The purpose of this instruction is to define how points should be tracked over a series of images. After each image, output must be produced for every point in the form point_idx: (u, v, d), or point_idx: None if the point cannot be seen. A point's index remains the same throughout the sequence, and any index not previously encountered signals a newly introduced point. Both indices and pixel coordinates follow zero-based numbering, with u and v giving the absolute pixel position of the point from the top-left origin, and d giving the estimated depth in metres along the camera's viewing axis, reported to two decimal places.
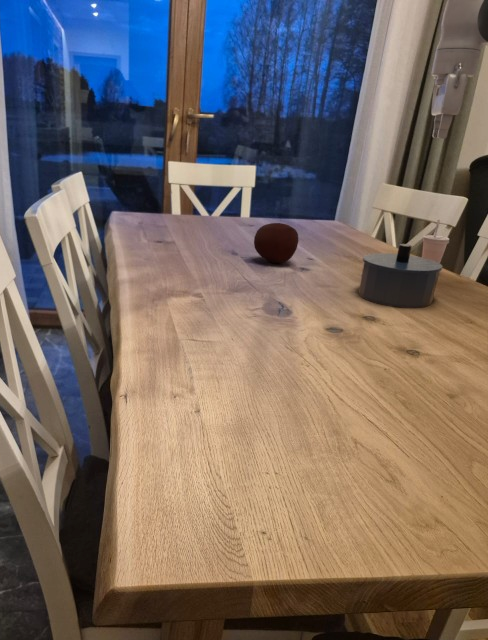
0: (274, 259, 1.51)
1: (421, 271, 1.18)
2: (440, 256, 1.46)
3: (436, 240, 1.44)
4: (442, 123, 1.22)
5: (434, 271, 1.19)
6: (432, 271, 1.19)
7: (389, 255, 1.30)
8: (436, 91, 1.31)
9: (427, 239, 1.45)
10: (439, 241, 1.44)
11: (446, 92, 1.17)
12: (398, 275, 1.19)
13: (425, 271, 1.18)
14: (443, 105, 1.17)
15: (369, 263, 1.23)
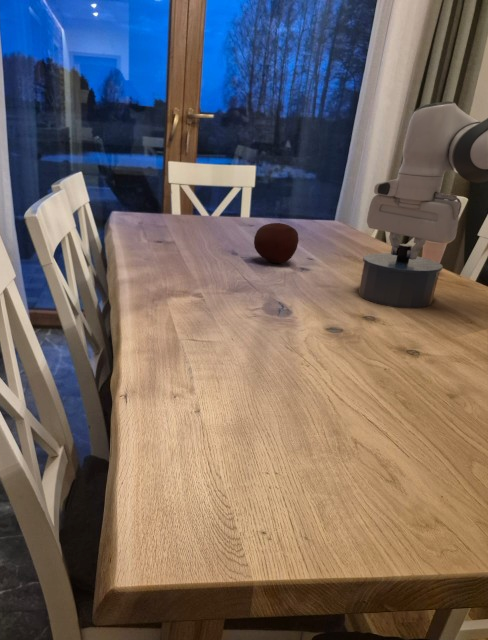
0: (274, 259, 1.51)
1: (421, 271, 1.18)
2: (440, 256, 1.46)
3: None
4: (418, 246, 1.21)
5: (434, 271, 1.19)
6: (432, 271, 1.19)
7: (389, 255, 1.30)
8: (378, 206, 1.25)
9: None
10: None
11: (448, 224, 1.13)
12: (398, 275, 1.19)
13: (425, 271, 1.18)
14: (446, 236, 1.14)
15: (369, 263, 1.23)
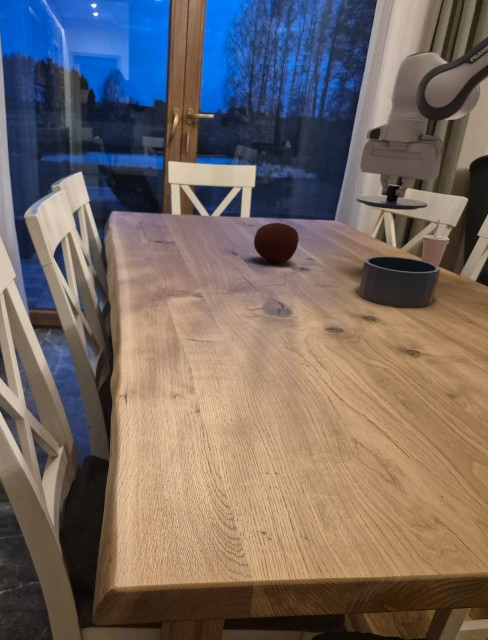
0: (274, 259, 1.51)
1: (408, 206, 1.33)
2: (440, 256, 1.46)
3: (436, 240, 1.44)
4: (405, 185, 1.35)
5: (420, 206, 1.34)
6: (418, 206, 1.33)
7: (380, 197, 1.45)
8: (370, 151, 1.40)
9: (427, 239, 1.45)
10: (439, 241, 1.44)
11: (431, 161, 1.28)
12: (398, 275, 1.19)
13: (411, 206, 1.33)
14: (429, 173, 1.29)
15: (362, 201, 1.37)
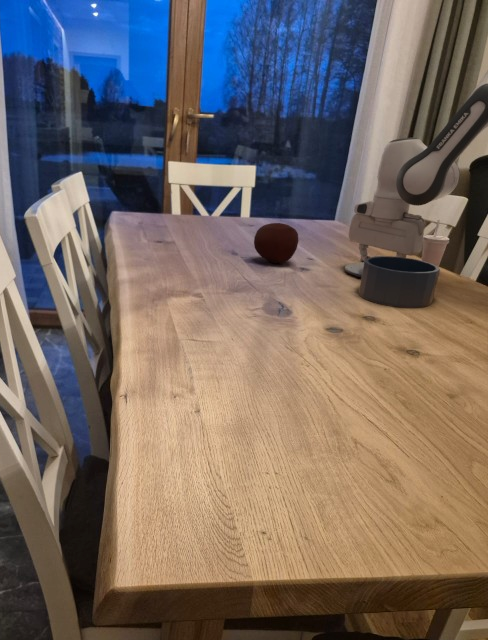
0: (274, 259, 1.51)
1: None
2: (440, 256, 1.46)
3: (436, 240, 1.44)
4: None
5: None
6: None
7: None
8: (358, 223, 1.47)
9: (427, 239, 1.45)
10: (439, 241, 1.44)
11: (414, 239, 1.35)
12: (398, 275, 1.19)
13: None
14: (413, 249, 1.36)
15: (349, 272, 1.45)
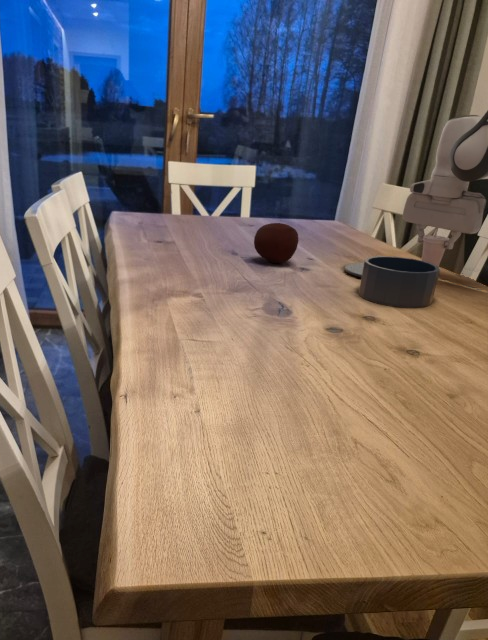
0: (274, 259, 1.51)
1: None
2: (440, 256, 1.46)
3: (436, 240, 1.44)
4: (454, 238, 1.42)
5: None
6: None
7: None
8: (413, 203, 1.47)
9: (427, 239, 1.45)
10: (439, 241, 1.44)
11: (475, 217, 1.35)
12: (398, 275, 1.19)
13: None
14: (472, 227, 1.36)
15: (349, 272, 1.45)
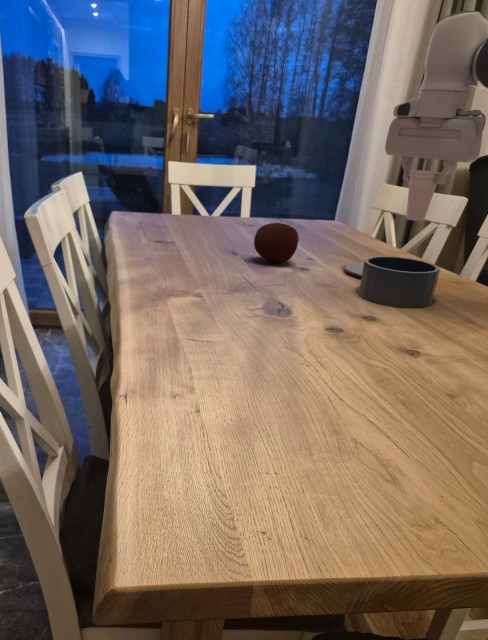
0: (274, 259, 1.51)
1: None
2: (430, 194, 1.20)
3: (425, 174, 1.17)
4: (447, 169, 1.15)
5: None
6: None
7: None
8: (397, 130, 1.21)
9: (414, 173, 1.19)
10: (428, 175, 1.17)
11: (472, 140, 1.09)
12: (398, 275, 1.19)
13: None
14: (469, 154, 1.10)
15: (349, 272, 1.45)
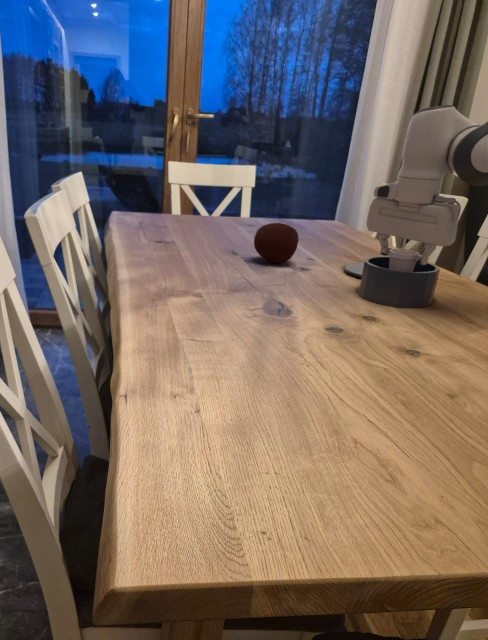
0: (274, 259, 1.51)
1: None
2: None
3: (404, 255, 1.22)
4: (428, 252, 1.19)
5: None
6: None
7: None
8: (378, 209, 1.25)
9: (393, 254, 1.23)
10: (407, 256, 1.22)
11: (447, 227, 1.14)
12: (398, 275, 1.19)
13: None
14: (445, 239, 1.14)
15: (349, 272, 1.45)
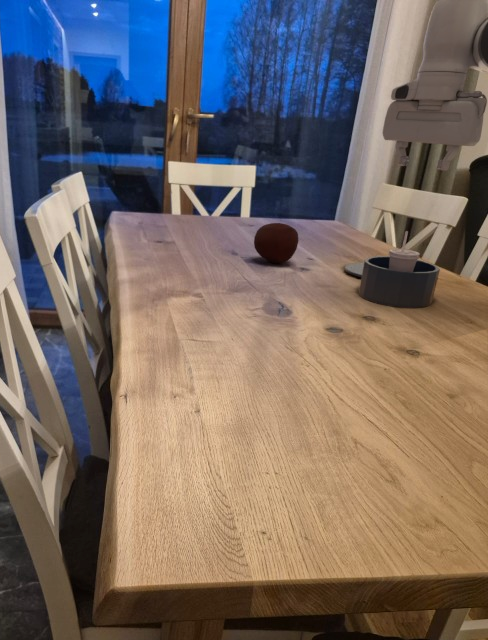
0: (274, 259, 1.51)
1: None
2: None
3: (404, 255, 1.22)
4: (451, 154, 1.11)
5: None
6: None
7: None
8: (395, 114, 1.17)
9: (393, 254, 1.23)
10: (407, 256, 1.22)
11: (472, 123, 1.05)
12: (398, 275, 1.19)
13: None
14: (470, 137, 1.06)
15: (349, 272, 1.45)
